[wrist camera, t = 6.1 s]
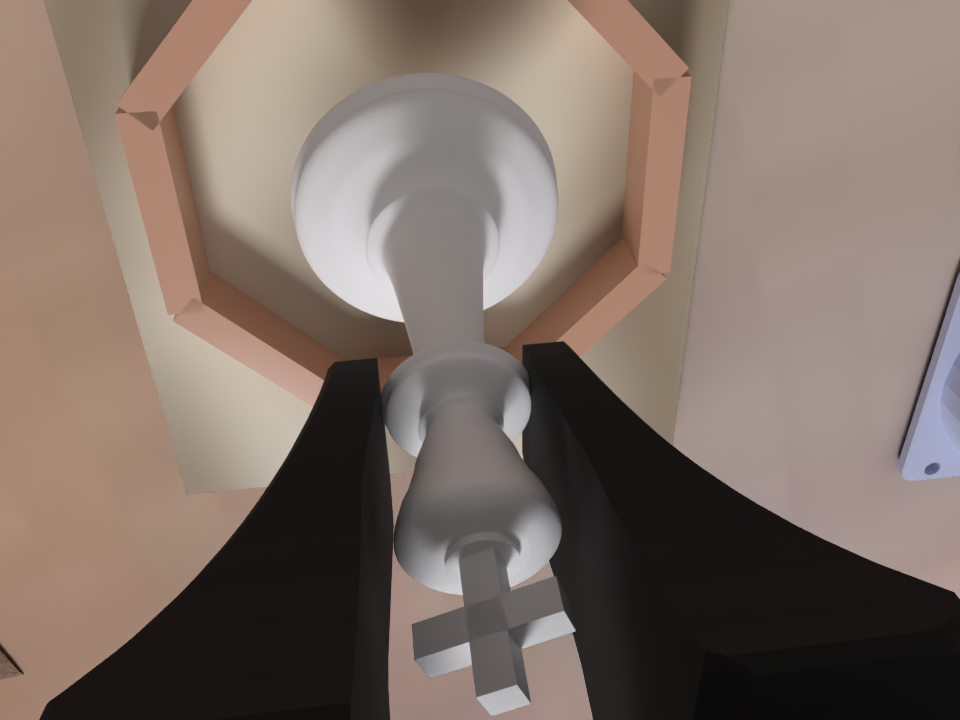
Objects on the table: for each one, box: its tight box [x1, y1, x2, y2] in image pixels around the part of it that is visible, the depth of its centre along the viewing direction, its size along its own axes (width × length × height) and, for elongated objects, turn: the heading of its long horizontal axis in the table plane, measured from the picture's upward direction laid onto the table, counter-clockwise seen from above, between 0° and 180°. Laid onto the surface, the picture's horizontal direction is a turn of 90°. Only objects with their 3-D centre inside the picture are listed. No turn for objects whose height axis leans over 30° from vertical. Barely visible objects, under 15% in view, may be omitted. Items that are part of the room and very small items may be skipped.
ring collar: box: [115, 0, 692, 407], centre depth 20 cm, size 12×12×2 cm
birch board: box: [44, 0, 729, 495], centre depth 21 cm, size 14×18×1 cm
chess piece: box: [291, 73, 576, 716], centre depth 13 cm, size 5×5×10 cm
